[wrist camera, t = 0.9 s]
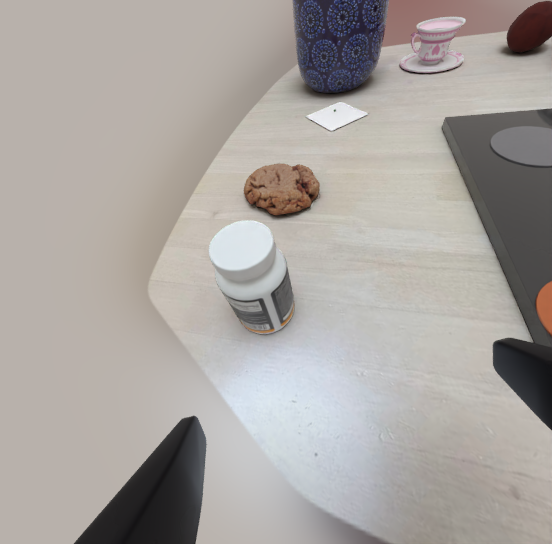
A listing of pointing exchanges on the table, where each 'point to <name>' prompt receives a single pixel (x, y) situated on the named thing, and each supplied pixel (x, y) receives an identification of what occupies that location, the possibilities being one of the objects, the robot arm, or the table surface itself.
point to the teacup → (434, 46)
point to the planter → (338, 41)
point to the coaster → (336, 115)
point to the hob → (513, 200)
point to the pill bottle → (253, 275)
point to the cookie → (282, 188)
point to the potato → (531, 27)
